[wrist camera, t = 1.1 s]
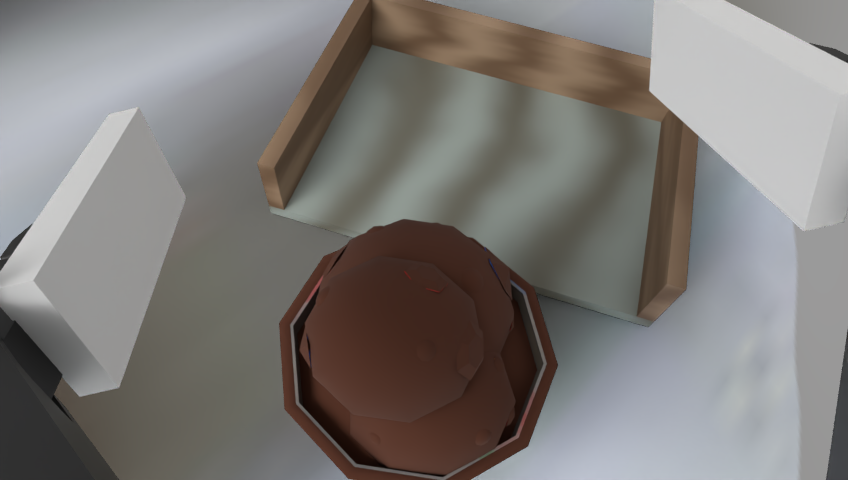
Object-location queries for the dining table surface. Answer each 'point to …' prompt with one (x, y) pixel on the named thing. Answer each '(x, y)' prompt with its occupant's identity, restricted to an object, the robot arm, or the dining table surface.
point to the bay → (495, 151)
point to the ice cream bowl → (416, 356)
